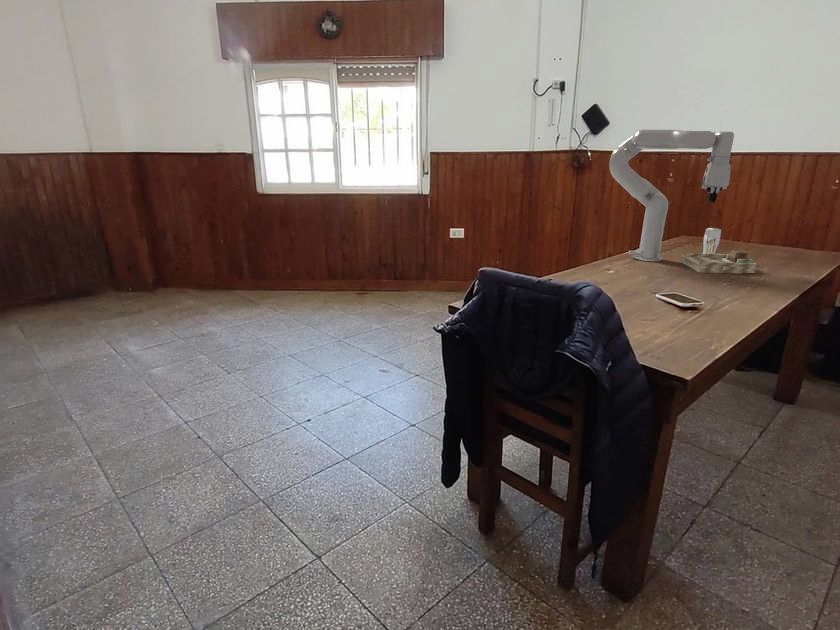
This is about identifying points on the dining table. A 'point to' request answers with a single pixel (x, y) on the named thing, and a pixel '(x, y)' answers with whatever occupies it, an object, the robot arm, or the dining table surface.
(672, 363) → the dining table surface
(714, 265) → the tray
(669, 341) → the dining table surface
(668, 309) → the dining table surface
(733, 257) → the walnut block
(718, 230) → the beer glass
